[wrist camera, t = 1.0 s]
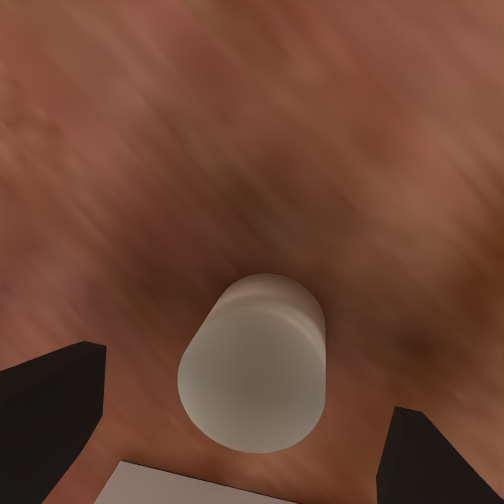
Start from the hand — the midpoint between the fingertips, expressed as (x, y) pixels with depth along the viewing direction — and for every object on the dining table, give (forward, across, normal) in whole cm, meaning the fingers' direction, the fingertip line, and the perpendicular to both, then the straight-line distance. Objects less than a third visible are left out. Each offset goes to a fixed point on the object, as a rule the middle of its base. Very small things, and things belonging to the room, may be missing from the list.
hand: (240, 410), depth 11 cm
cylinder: (+5, 0, 0) cm, 5 cm away
